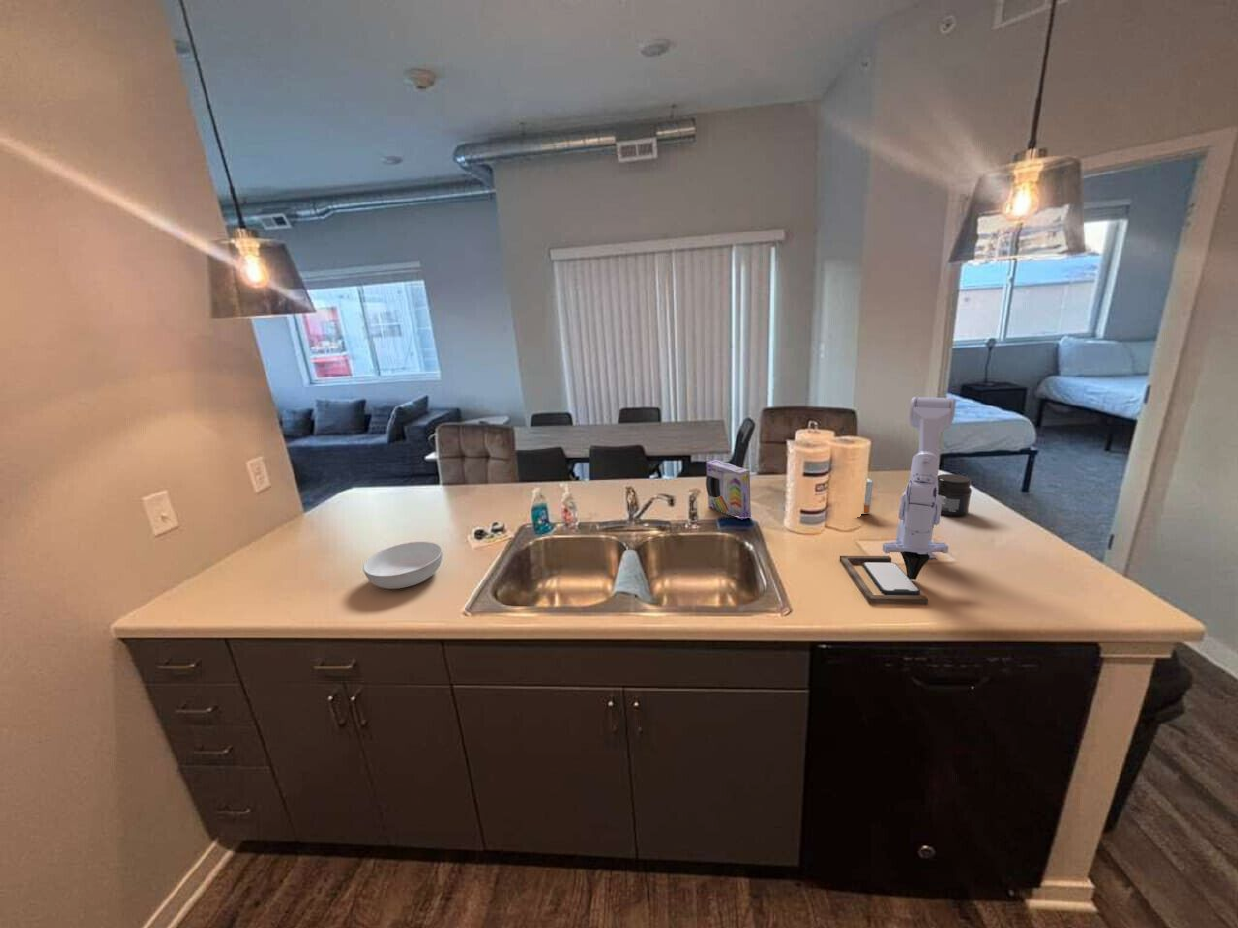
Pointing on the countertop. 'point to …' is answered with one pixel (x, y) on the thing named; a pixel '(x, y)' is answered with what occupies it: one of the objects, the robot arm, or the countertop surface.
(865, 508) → the skincare box
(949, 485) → the supplement container
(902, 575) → the dark grey smartphone
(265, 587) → the countertop surface
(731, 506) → the cake pan box
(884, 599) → the walnut frame
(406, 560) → the serving bowl
